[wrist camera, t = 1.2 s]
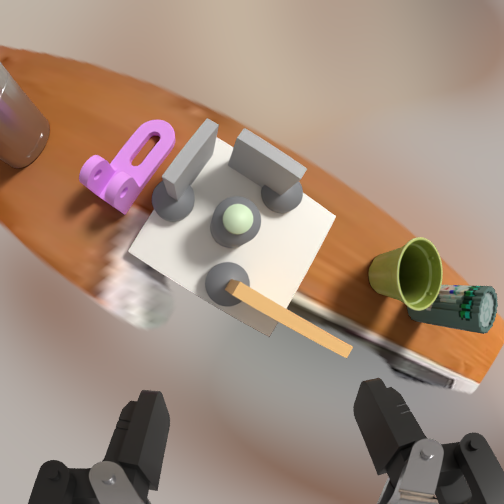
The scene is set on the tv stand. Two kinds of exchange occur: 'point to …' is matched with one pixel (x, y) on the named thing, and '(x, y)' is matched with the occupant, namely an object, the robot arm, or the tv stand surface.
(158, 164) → the bracket
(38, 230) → the tv stand surface
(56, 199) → the tv stand surface
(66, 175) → the tv stand surface
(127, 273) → the tv stand surface
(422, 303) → the plant pot
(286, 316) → the tan upright panel
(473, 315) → the can
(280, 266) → the plate
